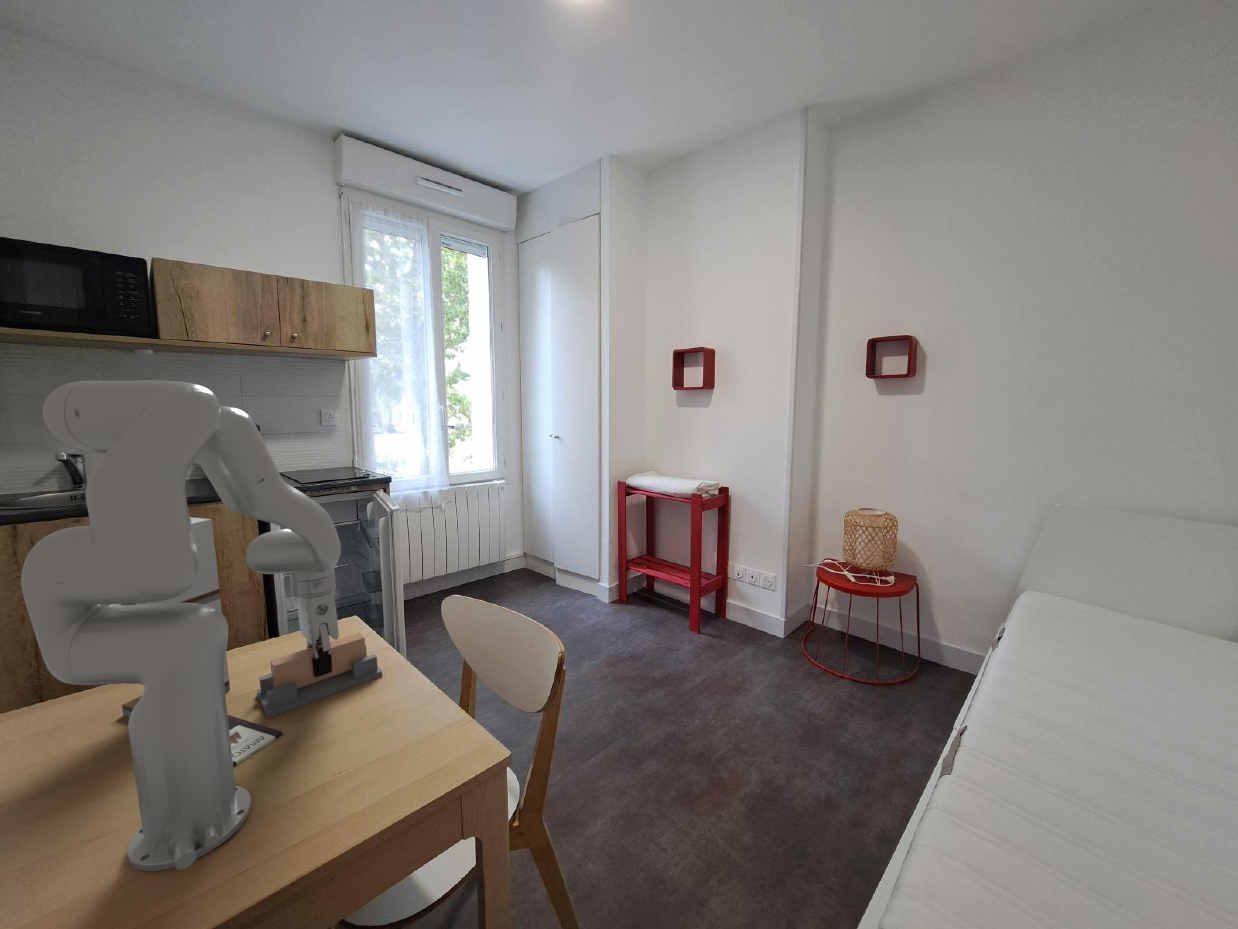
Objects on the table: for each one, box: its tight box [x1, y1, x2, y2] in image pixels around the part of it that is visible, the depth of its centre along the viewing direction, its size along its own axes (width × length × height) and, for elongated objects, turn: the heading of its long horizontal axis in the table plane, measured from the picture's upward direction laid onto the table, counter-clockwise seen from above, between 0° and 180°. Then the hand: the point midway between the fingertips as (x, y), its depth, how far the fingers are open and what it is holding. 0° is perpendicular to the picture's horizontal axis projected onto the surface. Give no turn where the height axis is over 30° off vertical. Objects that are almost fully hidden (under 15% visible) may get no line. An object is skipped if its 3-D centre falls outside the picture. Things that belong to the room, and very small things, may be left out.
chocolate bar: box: [227, 714, 284, 768], centre depth 84 cm, size 9×1×18 cm
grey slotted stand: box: [256, 644, 383, 719], centre depth 100 cm, size 10×20×4 cm, turn 135°
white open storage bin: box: [121, 516, 231, 718], centre depth 92 cm, size 11×11×35 cm
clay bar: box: [270, 632, 367, 689], centre depth 100 cm, size 3×16×6 cm, turn 135°
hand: (320, 669), depth 100 cm, fingers closed on clay bar, 3 cm apart
